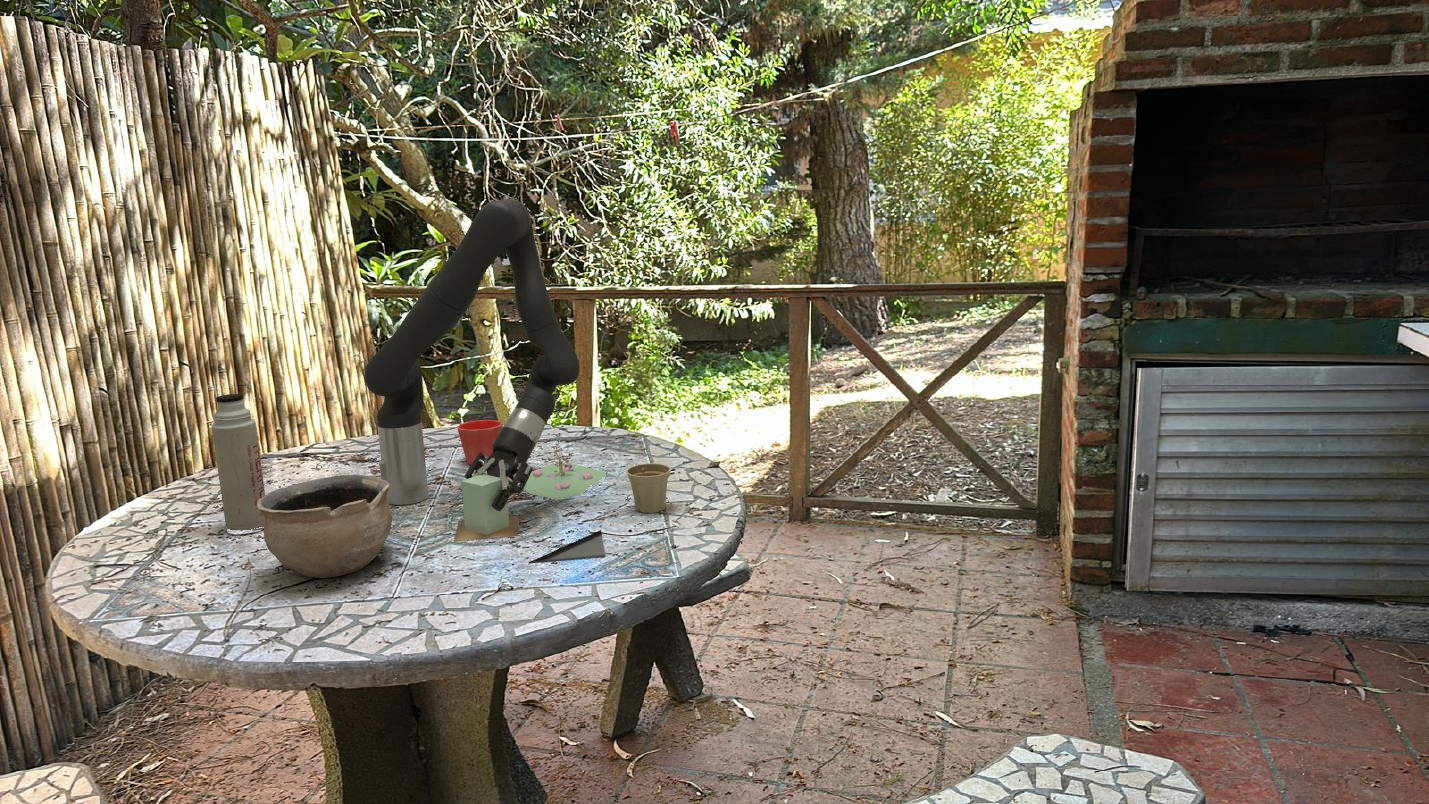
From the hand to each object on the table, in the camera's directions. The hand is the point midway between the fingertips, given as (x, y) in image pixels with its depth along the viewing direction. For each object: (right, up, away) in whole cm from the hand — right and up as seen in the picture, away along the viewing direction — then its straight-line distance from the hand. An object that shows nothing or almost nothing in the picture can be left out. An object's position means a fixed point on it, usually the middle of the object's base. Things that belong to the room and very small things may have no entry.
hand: (480, 505), depth 191 cm
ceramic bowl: (-24, -10, -12) cm, 29 cm away
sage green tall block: (+1, -5, +2) cm, 5 cm away
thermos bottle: (-50, -6, +10) cm, 51 cm away
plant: (+10, +1, +35) cm, 36 cm away
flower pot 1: (-12, +5, +54) cm, 55 cm away
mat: (+17, -7, -5) cm, 19 cm away
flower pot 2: (+32, -3, +15) cm, 36 cm away
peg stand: (+1, -6, +2) cm, 7 cm away
